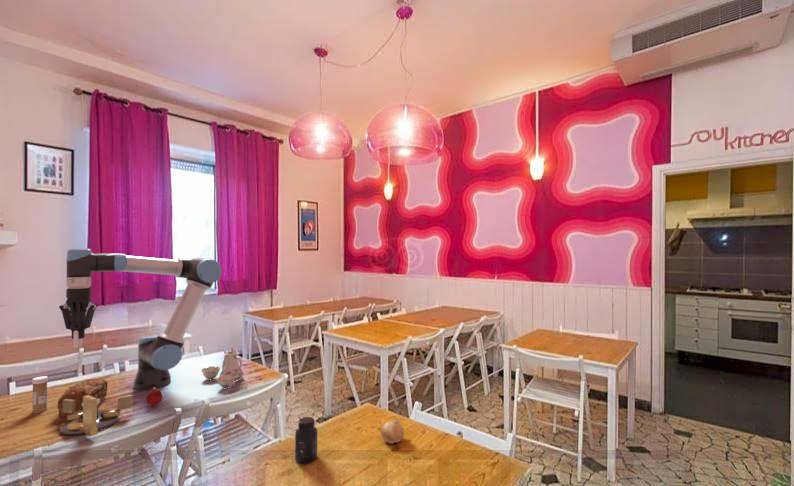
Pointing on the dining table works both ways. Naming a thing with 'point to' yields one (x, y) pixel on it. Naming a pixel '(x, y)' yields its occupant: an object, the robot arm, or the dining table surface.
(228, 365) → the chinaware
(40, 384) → the sprinkles bottle
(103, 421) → the tribrach plate
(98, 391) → the bread
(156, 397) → the onion
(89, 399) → the tan upright wooden panel
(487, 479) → the dining table surface
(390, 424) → the onion
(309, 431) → the supplement bottle
